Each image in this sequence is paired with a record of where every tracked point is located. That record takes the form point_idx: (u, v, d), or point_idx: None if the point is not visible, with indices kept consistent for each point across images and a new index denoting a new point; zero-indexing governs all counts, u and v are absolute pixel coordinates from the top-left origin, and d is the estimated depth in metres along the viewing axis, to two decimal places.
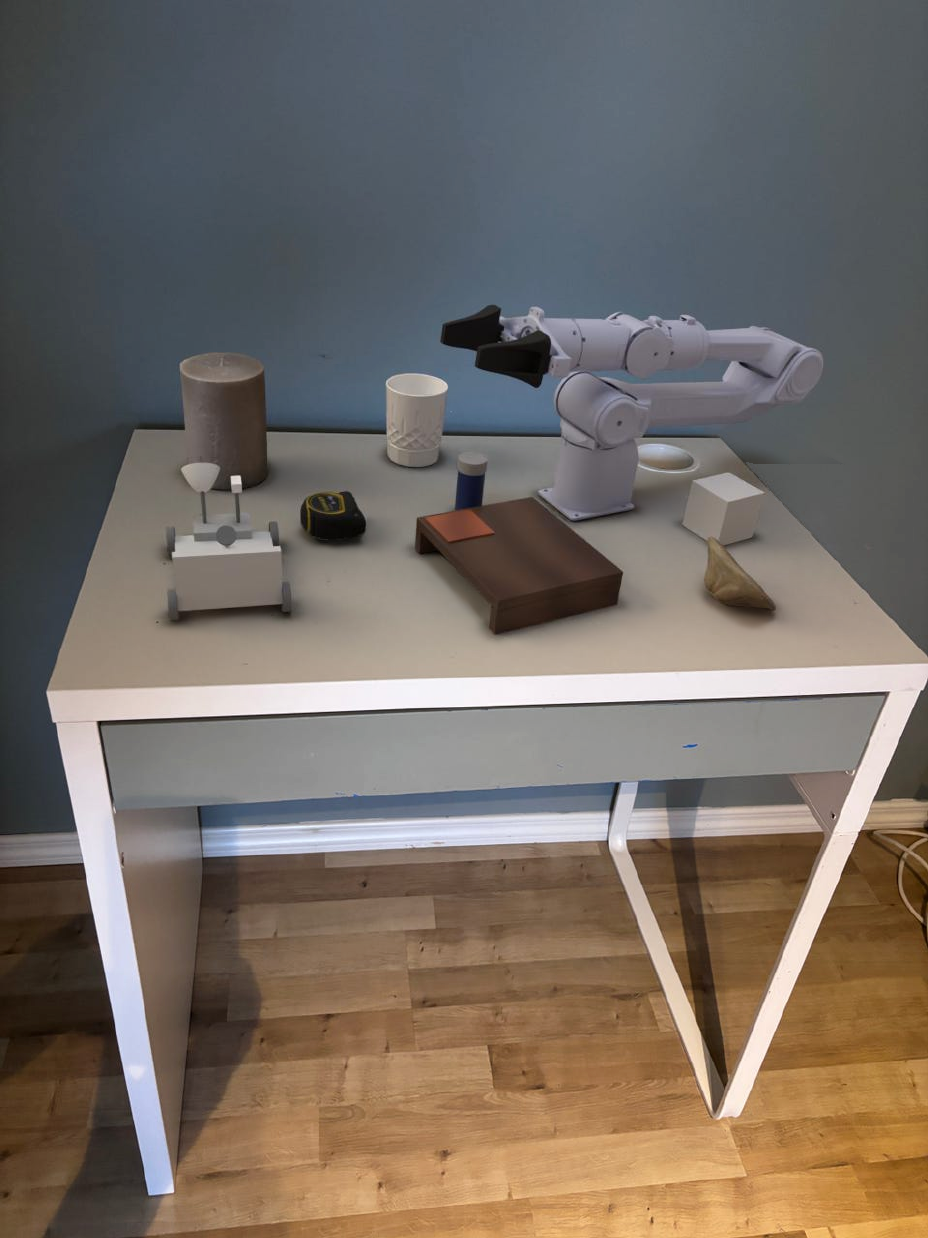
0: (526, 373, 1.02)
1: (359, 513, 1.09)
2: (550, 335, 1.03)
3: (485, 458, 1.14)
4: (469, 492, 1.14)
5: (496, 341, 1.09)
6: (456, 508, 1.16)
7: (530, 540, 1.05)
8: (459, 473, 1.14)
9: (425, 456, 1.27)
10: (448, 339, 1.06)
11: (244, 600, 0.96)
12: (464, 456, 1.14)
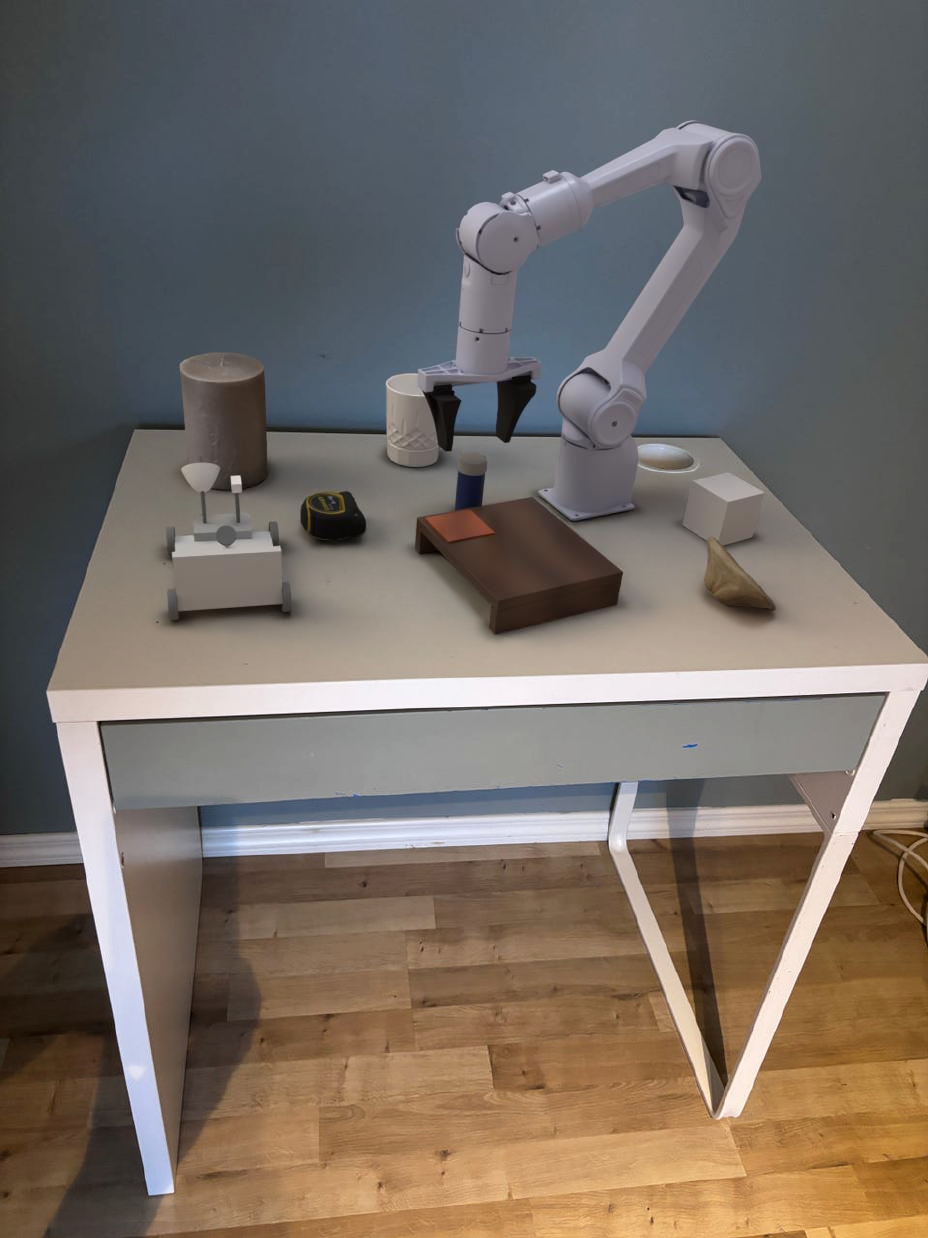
0: None
1: (359, 513, 1.09)
2: None
3: (485, 458, 1.14)
4: (469, 492, 1.14)
5: (511, 385, 1.10)
6: (456, 508, 1.16)
7: (530, 540, 1.05)
8: (459, 473, 1.14)
9: (425, 456, 1.27)
10: (503, 436, 1.13)
11: (244, 600, 0.96)
12: (464, 456, 1.14)
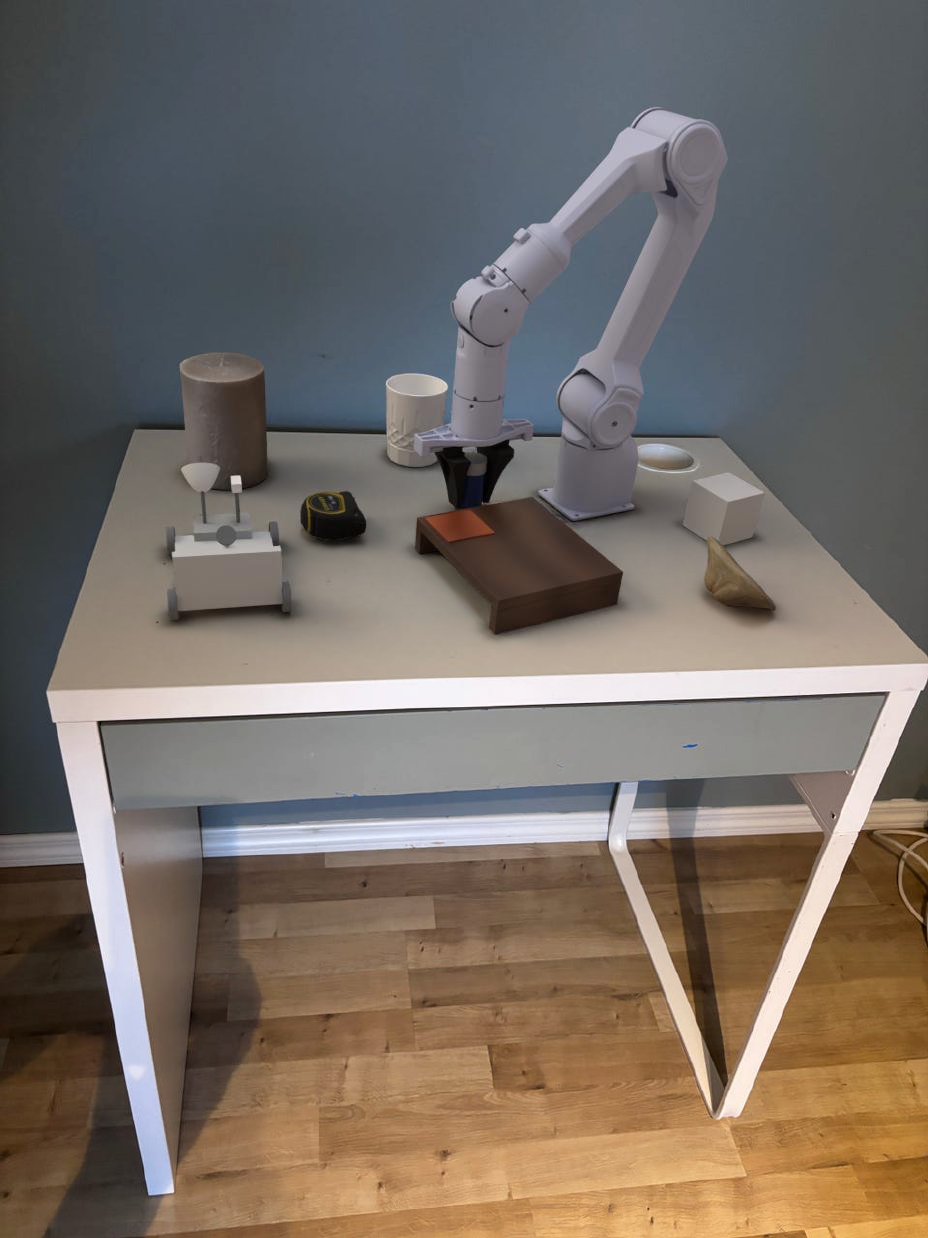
0: None
1: (359, 513, 1.09)
2: None
3: (485, 458, 1.14)
4: (468, 492, 1.14)
5: (490, 449, 1.13)
6: (456, 508, 1.16)
7: (530, 540, 1.05)
8: None
9: (425, 456, 1.27)
10: None
11: (244, 600, 0.96)
12: None
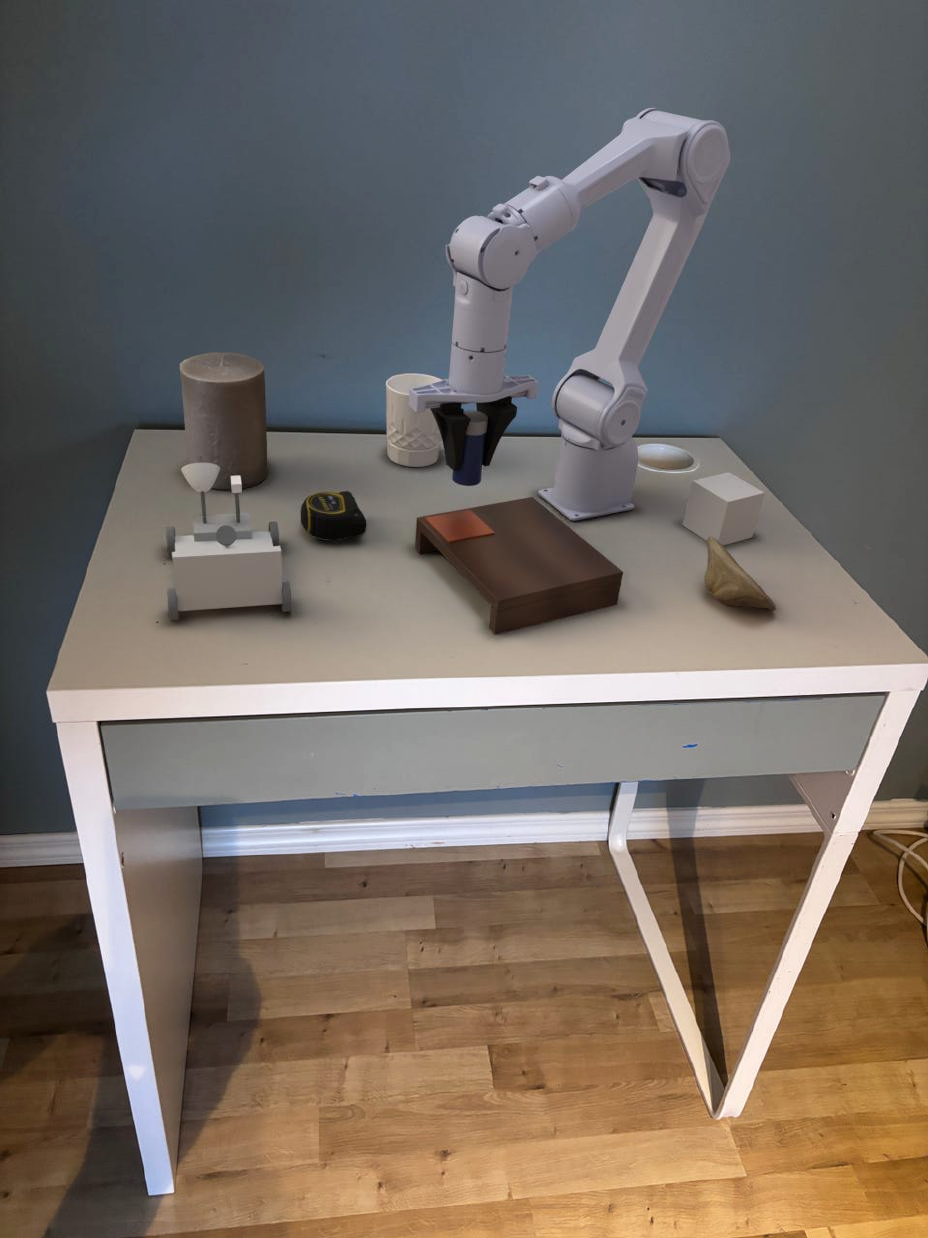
0: None
1: (359, 513, 1.09)
2: None
3: (485, 416, 1.05)
4: (467, 453, 1.06)
5: (491, 407, 1.05)
6: (454, 471, 1.08)
7: (530, 540, 1.05)
8: None
9: (425, 456, 1.27)
10: None
11: (244, 600, 0.96)
12: None
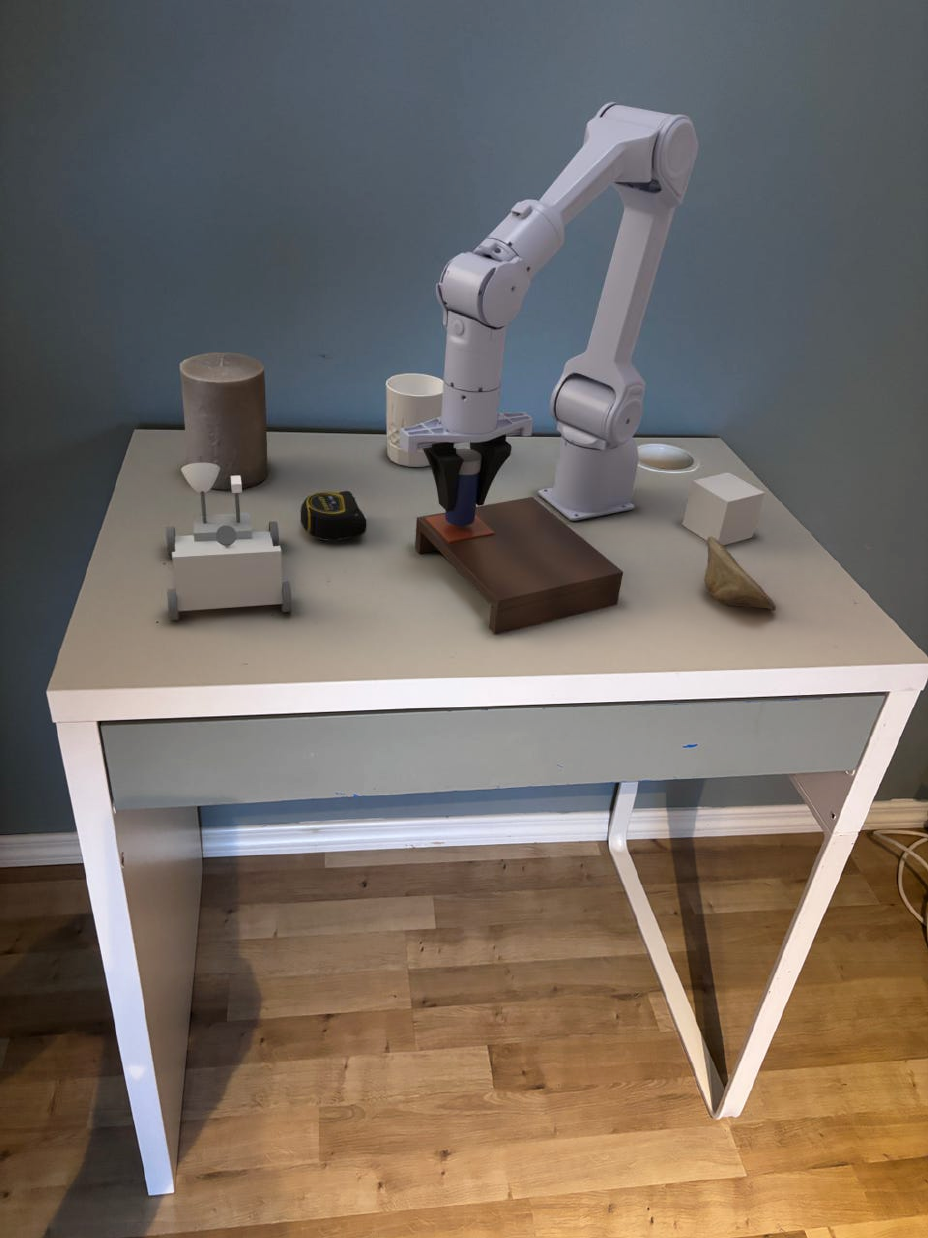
0: None
1: (359, 513, 1.09)
2: None
3: (479, 455, 1.02)
4: (461, 493, 1.03)
5: (484, 445, 1.02)
6: (447, 511, 1.05)
7: (530, 540, 1.05)
8: None
9: (425, 456, 1.27)
10: None
11: (244, 600, 0.96)
12: None
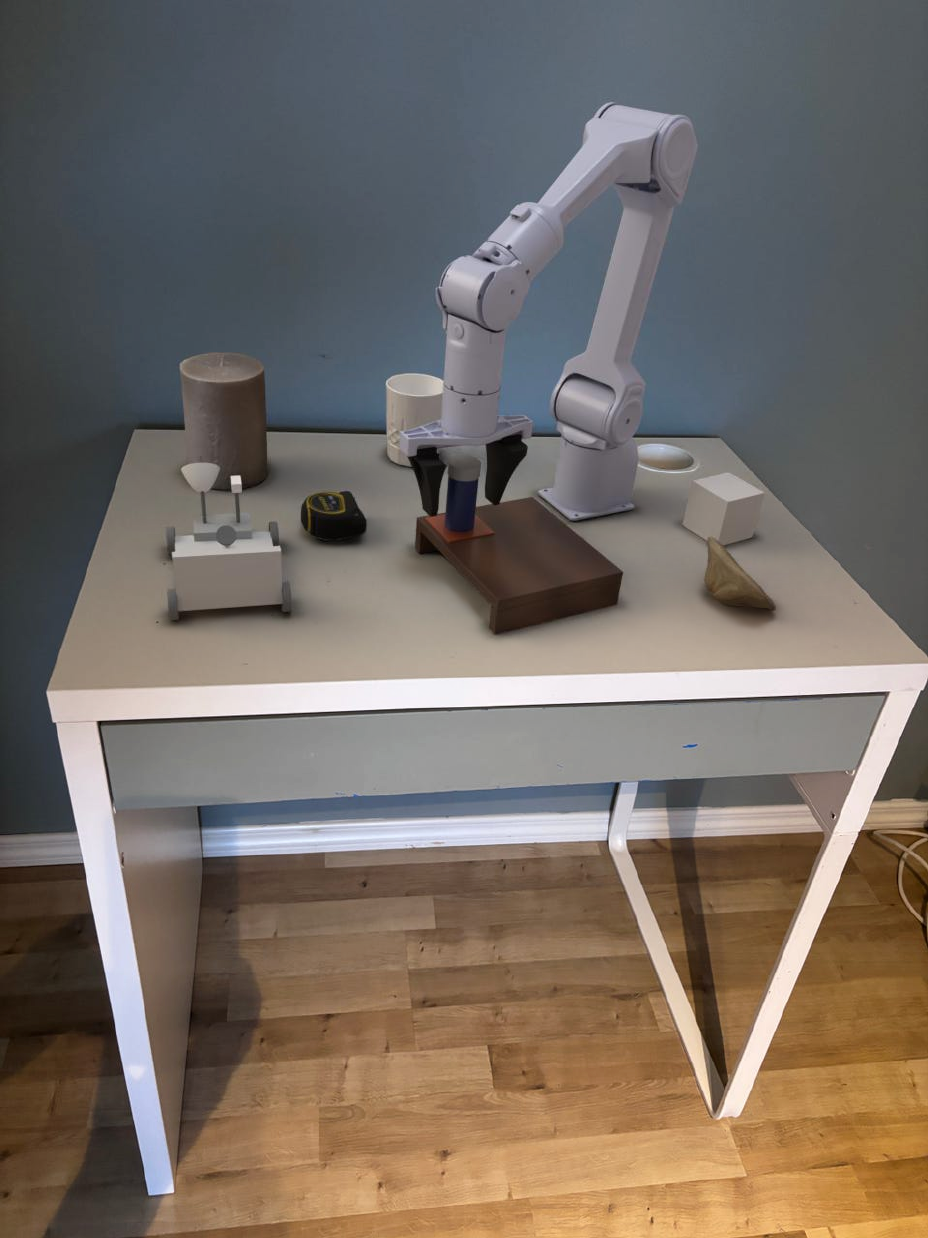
0: None
1: (359, 513, 1.09)
2: None
3: (478, 462, 1.03)
4: (460, 499, 1.03)
5: (501, 446, 1.03)
6: (446, 517, 1.05)
7: (530, 540, 1.05)
8: (449, 478, 1.03)
9: None
10: (492, 498, 1.06)
11: (244, 600, 0.96)
12: (455, 460, 1.03)
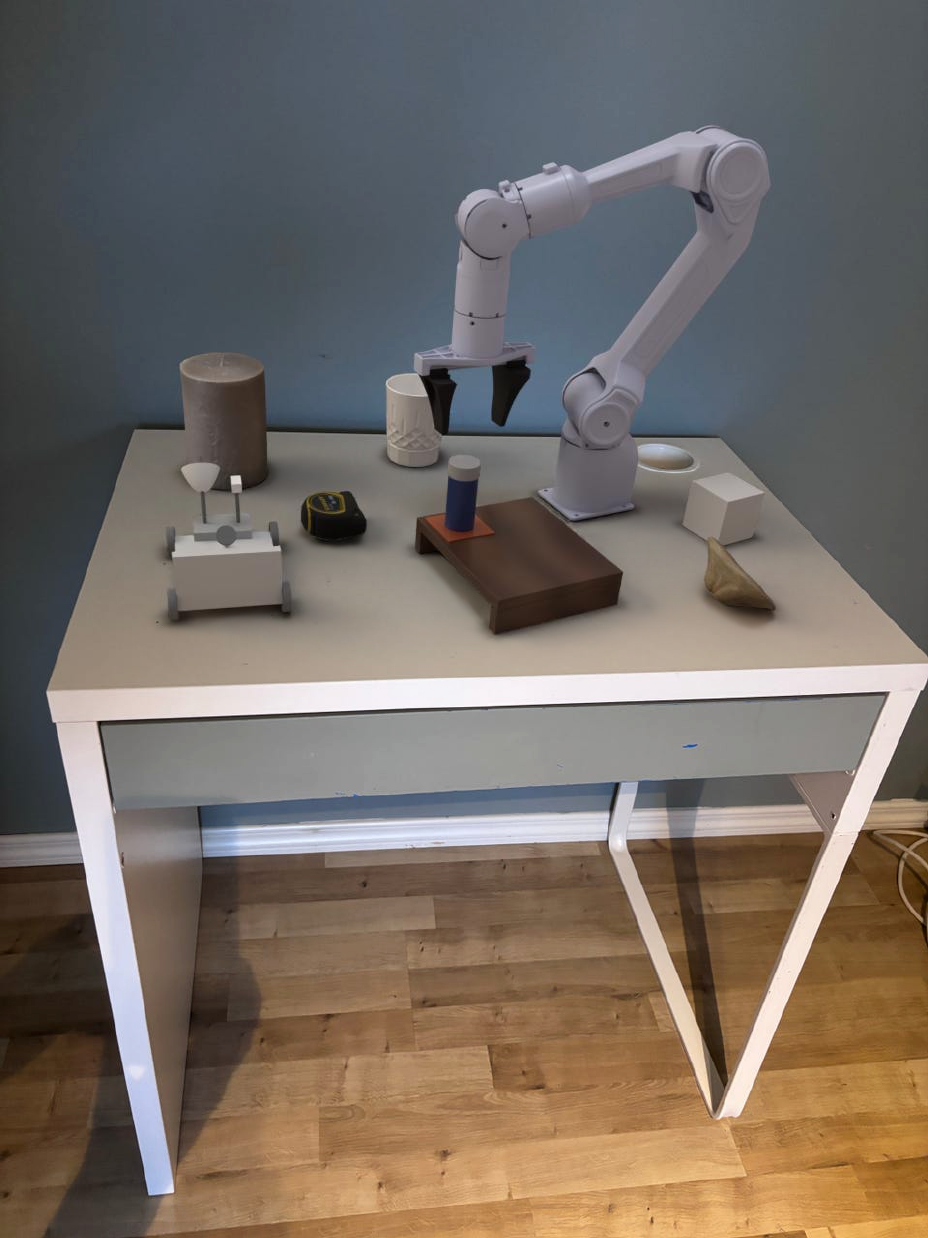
0: None
1: (359, 513, 1.09)
2: None
3: (478, 462, 1.03)
4: (460, 499, 1.03)
5: (506, 369, 1.12)
6: (446, 517, 1.05)
7: (530, 540, 1.05)
8: (449, 478, 1.03)
9: (425, 456, 1.27)
10: (498, 420, 1.16)
11: (244, 600, 0.96)
12: (455, 460, 1.03)
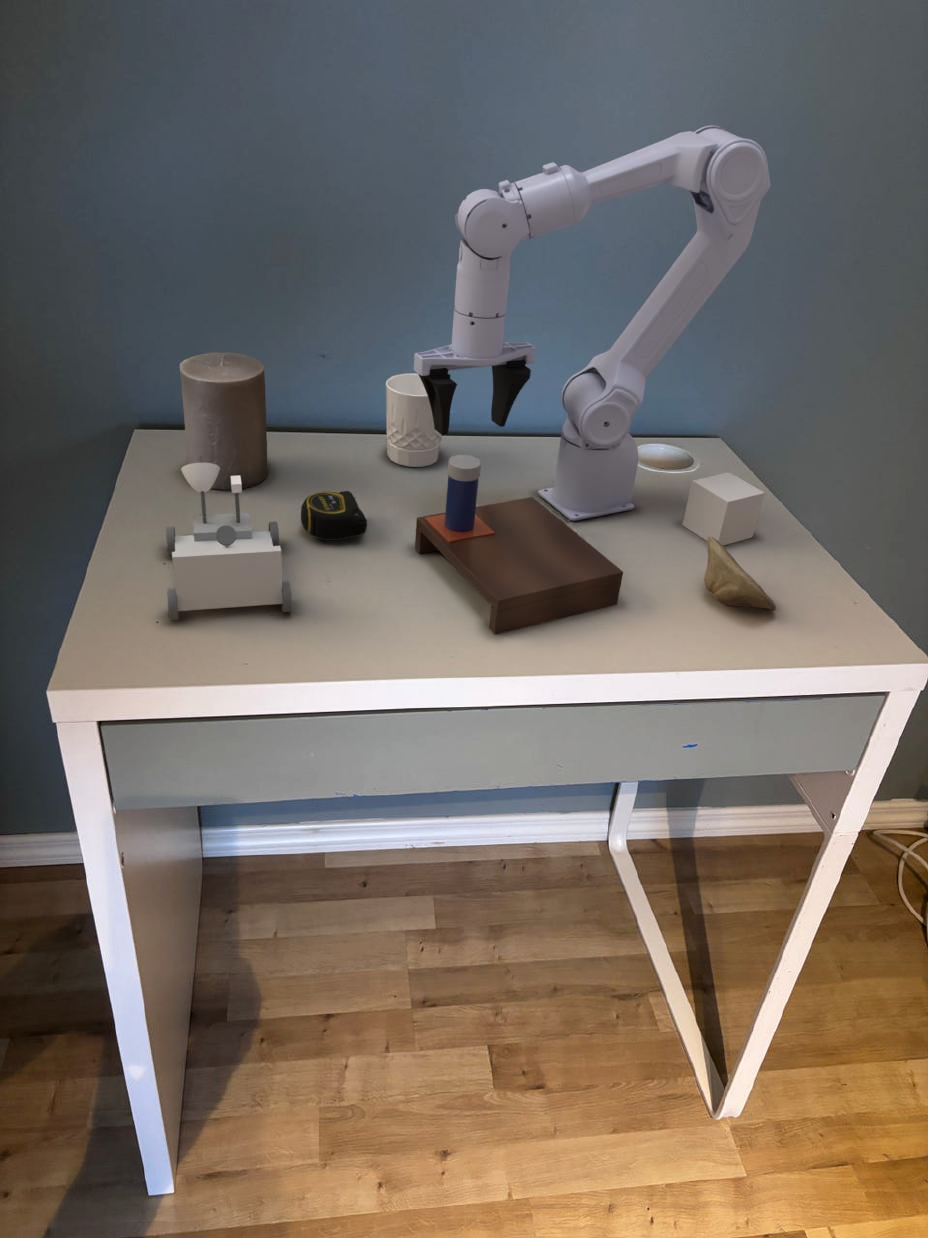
0: None
1: (360, 513, 1.09)
2: None
3: (478, 462, 1.03)
4: (460, 499, 1.03)
5: (506, 369, 1.12)
6: (446, 517, 1.05)
7: (530, 540, 1.05)
8: (449, 478, 1.03)
9: (425, 456, 1.27)
10: (498, 420, 1.16)
11: (244, 600, 0.96)
12: (455, 460, 1.03)
